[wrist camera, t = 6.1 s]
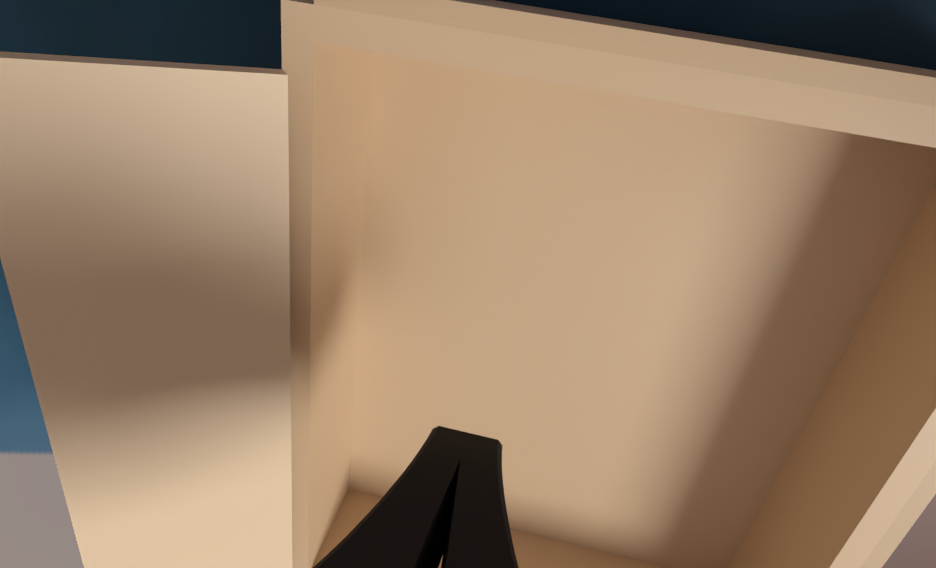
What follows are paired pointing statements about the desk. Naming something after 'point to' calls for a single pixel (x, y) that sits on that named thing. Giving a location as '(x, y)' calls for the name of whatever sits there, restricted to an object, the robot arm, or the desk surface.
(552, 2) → the desk surface
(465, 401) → the carton
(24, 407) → the desk surface
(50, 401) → the carton flap
